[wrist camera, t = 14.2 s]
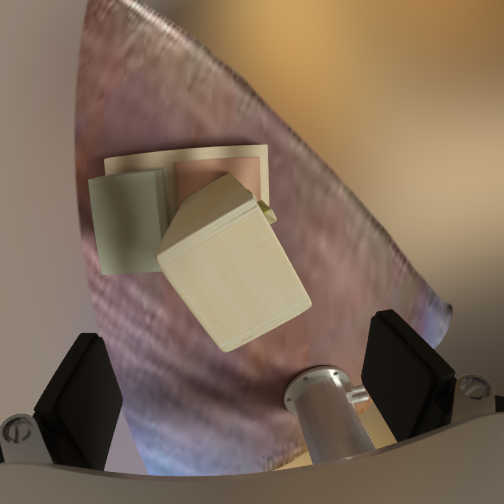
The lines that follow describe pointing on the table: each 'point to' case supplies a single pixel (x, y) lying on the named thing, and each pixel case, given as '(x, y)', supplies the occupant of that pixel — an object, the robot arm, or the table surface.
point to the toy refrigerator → (230, 264)
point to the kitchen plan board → (161, 197)
